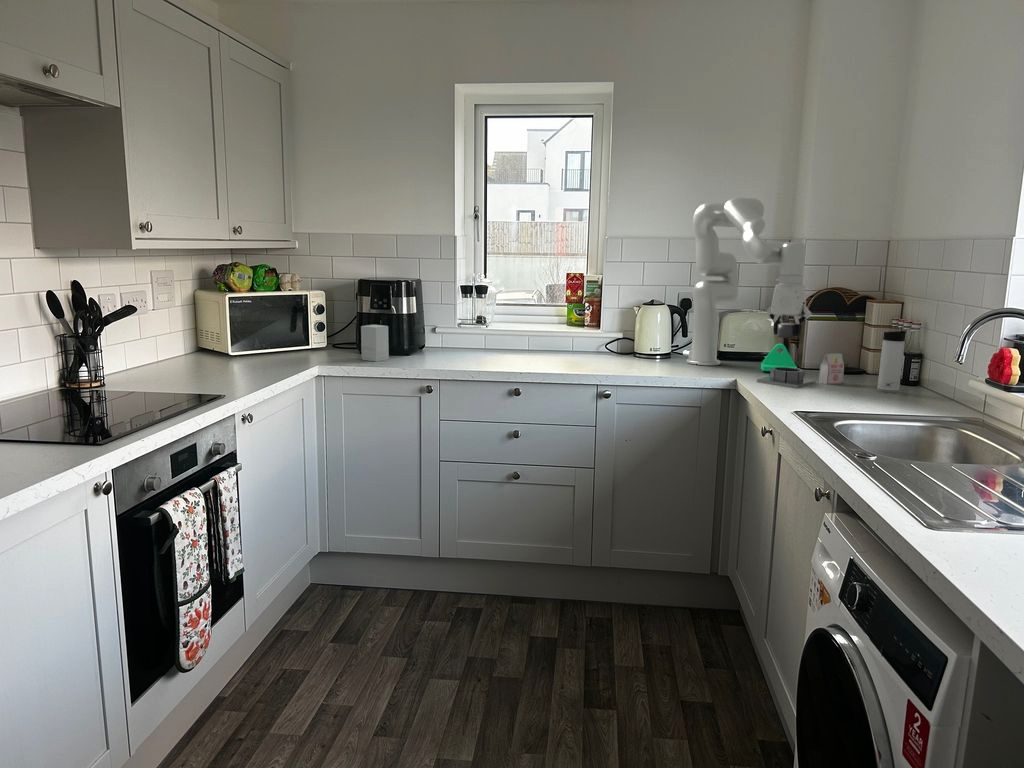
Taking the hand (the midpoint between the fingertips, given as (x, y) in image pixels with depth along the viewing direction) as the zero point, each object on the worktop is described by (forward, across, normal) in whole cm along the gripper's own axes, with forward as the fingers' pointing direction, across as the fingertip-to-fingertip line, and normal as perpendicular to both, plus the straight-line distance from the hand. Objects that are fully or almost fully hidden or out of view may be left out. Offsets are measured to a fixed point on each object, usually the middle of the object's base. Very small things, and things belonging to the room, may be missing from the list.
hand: (786, 334), depth 256 cm
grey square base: (+16, +1, +1) cm, 16 cm away
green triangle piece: (+16, -11, +18) cm, 27 cm away
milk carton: (+16, +11, +13) cm, 23 cm away
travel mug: (+17, +30, +12) cm, 36 cm away
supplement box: (+15, -119, -82) cm, 145 cm away
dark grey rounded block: (+1, 0, 0) cm, 1 cm away
